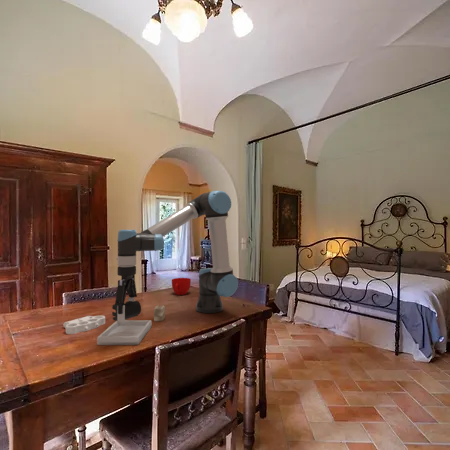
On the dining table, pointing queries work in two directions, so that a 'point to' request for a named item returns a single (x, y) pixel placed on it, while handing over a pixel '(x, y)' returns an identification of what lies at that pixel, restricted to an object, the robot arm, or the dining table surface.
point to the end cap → (129, 309)
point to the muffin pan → (83, 324)
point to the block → (159, 313)
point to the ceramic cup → (181, 285)
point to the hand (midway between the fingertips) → (126, 316)
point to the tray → (125, 333)
